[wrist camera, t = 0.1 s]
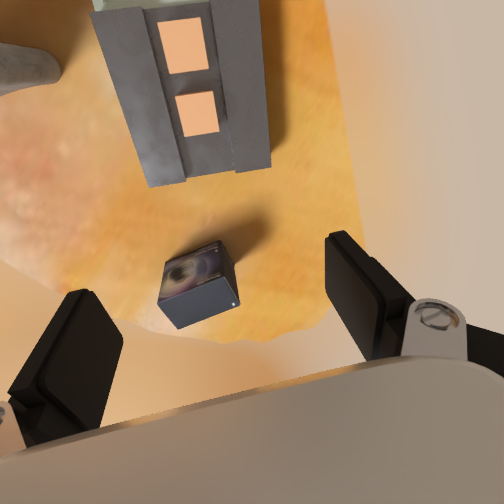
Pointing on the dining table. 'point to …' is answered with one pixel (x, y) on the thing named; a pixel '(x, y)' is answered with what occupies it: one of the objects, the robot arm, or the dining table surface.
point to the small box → (198, 285)
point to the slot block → (190, 88)
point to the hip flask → (26, 68)
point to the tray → (139, 3)
